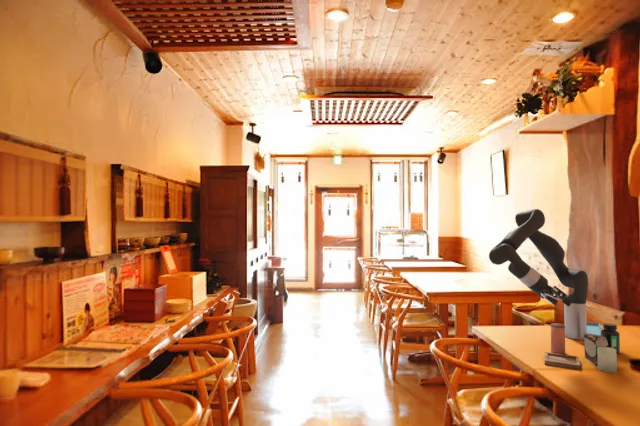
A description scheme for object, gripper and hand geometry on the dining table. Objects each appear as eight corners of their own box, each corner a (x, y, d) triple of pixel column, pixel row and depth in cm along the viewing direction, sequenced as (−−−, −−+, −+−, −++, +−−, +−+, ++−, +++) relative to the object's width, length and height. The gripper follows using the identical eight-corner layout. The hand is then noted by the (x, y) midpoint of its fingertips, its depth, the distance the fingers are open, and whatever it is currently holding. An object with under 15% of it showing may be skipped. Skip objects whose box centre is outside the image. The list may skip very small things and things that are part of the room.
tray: (544, 355, 174) (544, 352, 174) (578, 360, 168) (578, 356, 168) (544, 364, 163) (544, 360, 163) (580, 369, 157) (580, 365, 157)
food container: (614, 367, 159) (614, 342, 160) (596, 366, 161) (596, 341, 161) (599, 357, 172) (599, 333, 172) (583, 356, 173) (583, 332, 173)
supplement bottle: (618, 355, 174) (618, 327, 174) (599, 352, 179) (599, 324, 179) (621, 351, 179) (620, 324, 179) (602, 348, 184) (601, 321, 184)
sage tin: (596, 366, 161) (596, 345, 162) (615, 368, 158) (615, 348, 159) (598, 371, 156) (598, 349, 156) (617, 373, 153) (617, 352, 153)
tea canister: (550, 349, 182) (550, 322, 182) (565, 351, 179) (564, 324, 179) (550, 353, 177) (550, 325, 177) (565, 355, 174) (565, 327, 175)
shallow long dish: (605, 340, 198) (605, 334, 198) (582, 337, 203) (582, 332, 203) (600, 327, 221) (600, 323, 221) (580, 325, 226) (579, 321, 226)
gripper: (547, 271, 166) (579, 297, 165) (527, 272, 179) (556, 296, 179) (538, 286, 164) (570, 312, 164) (517, 286, 178) (547, 310, 178)
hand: (562, 304), depth 171 cm, fingers open, 8 cm apart
